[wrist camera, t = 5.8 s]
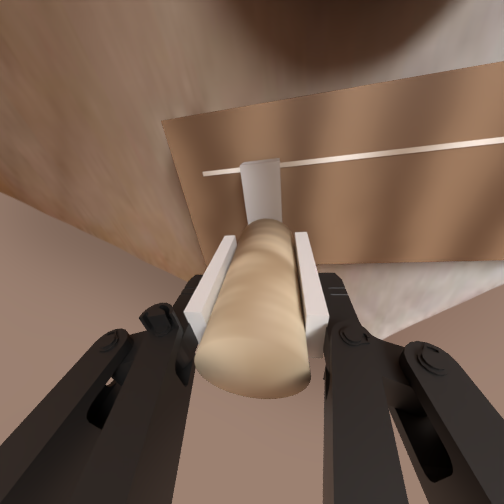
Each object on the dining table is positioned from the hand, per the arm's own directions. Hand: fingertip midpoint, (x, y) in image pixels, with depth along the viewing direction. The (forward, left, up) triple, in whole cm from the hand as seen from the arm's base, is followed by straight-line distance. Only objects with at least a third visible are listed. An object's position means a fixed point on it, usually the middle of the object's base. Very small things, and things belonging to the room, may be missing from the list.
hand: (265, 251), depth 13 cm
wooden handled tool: (0, 0, -6) cm, 6 cm away
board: (+3, +8, -6) cm, 11 cm away
